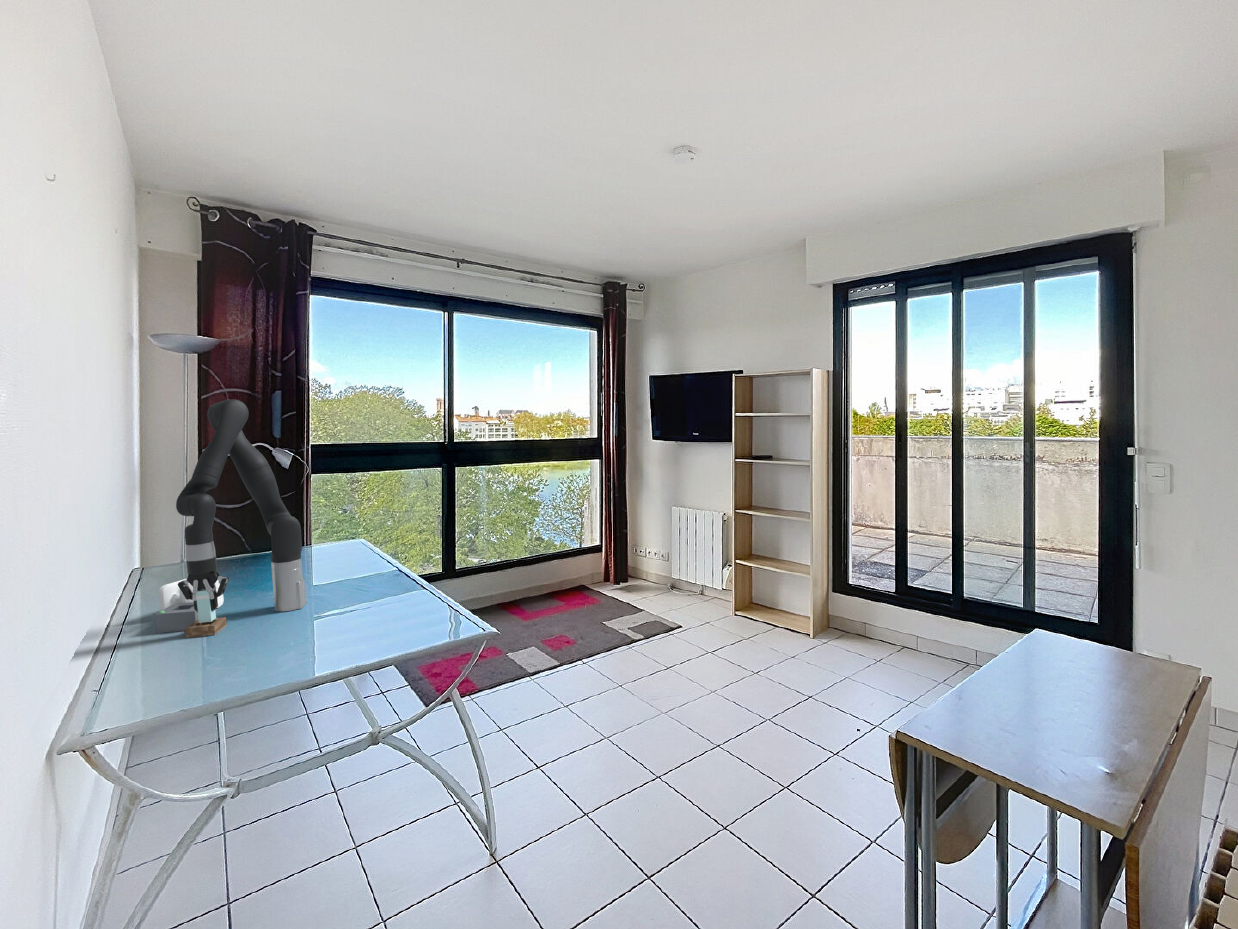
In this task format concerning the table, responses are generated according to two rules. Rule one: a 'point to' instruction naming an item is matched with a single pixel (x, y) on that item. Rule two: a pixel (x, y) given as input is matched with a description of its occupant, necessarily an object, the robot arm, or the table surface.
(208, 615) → the pale turquoise box
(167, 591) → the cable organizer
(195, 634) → the brown wooden square block
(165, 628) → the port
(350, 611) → the table surface
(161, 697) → the table surface
